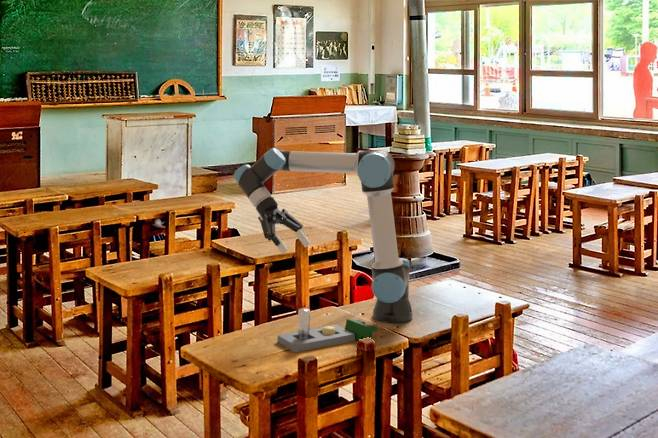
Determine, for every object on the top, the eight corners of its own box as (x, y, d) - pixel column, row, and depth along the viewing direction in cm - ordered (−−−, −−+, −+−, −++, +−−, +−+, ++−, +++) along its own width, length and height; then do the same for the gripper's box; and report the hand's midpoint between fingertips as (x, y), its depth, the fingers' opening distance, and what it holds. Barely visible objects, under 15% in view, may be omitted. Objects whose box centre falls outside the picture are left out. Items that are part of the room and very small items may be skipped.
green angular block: (370, 351, 288) (382, 331, 285) (358, 350, 284) (370, 330, 281) (353, 330, 296) (364, 310, 293) (341, 329, 292) (352, 309, 289)
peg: (306, 341, 284) (306, 307, 282) (311, 344, 281) (312, 310, 279) (296, 342, 282) (296, 309, 280) (301, 346, 279) (302, 312, 277)
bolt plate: (336, 331, 295) (336, 320, 295) (354, 340, 285) (355, 329, 285) (277, 341, 283) (277, 330, 282) (294, 352, 273) (294, 340, 272)
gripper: (278, 204, 310) (310, 248, 304) (235, 213, 290) (269, 261, 284) (290, 192, 306) (322, 236, 301) (247, 200, 286) (281, 248, 280)
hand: (296, 248), depth 292 cm, fingers open, 13 cm apart
